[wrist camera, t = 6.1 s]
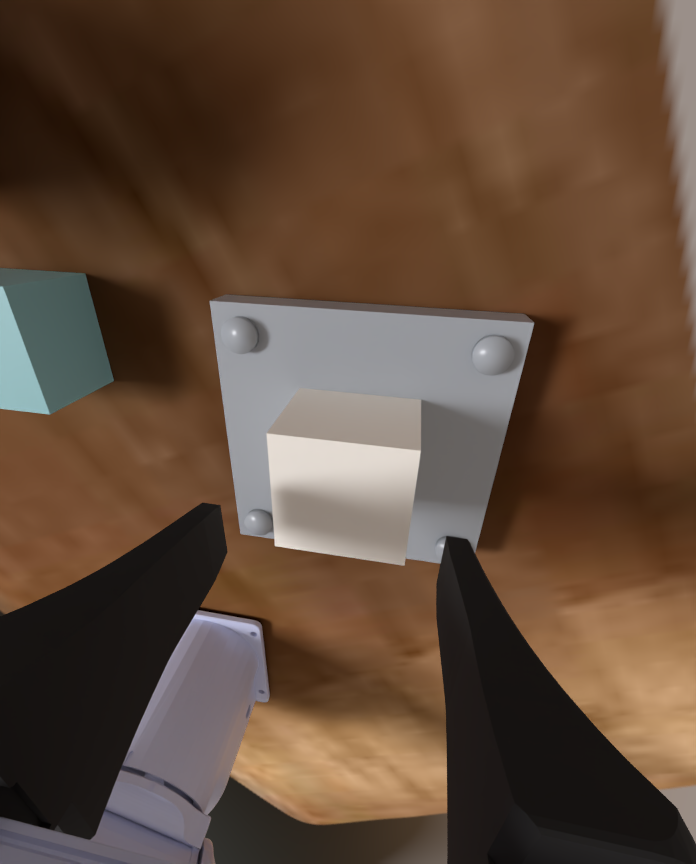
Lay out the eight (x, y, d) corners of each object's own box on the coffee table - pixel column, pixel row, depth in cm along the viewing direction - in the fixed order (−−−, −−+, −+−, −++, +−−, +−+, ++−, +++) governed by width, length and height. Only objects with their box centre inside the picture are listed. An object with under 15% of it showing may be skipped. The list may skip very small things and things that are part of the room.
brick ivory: (407, 499, 18) (404, 565, 15) (302, 485, 19) (275, 546, 15) (421, 399, 16) (421, 451, 12) (299, 387, 16) (266, 433, 13)
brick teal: (115, 380, 20) (50, 414, 16) (27, 371, 20) (-54, 402, 17) (87, 273, 17) (2, 286, 14) (-12, 266, 18) (-117, 278, 14)
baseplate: (468, 546, 21) (471, 574, 19) (251, 515, 22) (237, 539, 21) (524, 314, 15) (537, 325, 13) (226, 294, 16) (204, 302, 15)
